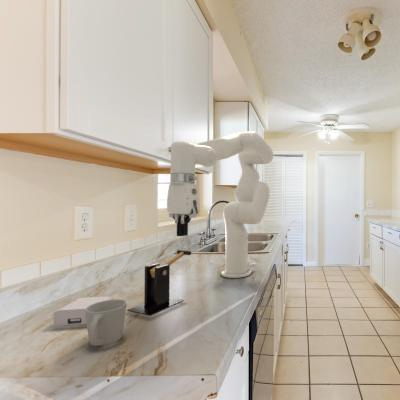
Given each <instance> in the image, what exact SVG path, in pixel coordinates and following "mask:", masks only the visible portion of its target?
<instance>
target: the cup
mask: <svg viewBox="0 0 400 400" xmlns="http://www.w3.org/2000/svg"><path fill="white" fill-rule="evenodd" d="M126 312H127V301H126V300H125V299H117V298H115V299H113V300H106V301H102V302H98V303H95V304H92V305H90V306H88V307H87V308H86V309H85V314H86V322H87V324H86V329H87V335H88V341H89V344H90V346H93V347H99V346H100V347H101V346H102V347H103V346H107V345H110V344H113V343H115V342H118V341H119V340H120V339H121V338H122V337H123V331H124V325H125V320H126Z"/></svg>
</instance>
